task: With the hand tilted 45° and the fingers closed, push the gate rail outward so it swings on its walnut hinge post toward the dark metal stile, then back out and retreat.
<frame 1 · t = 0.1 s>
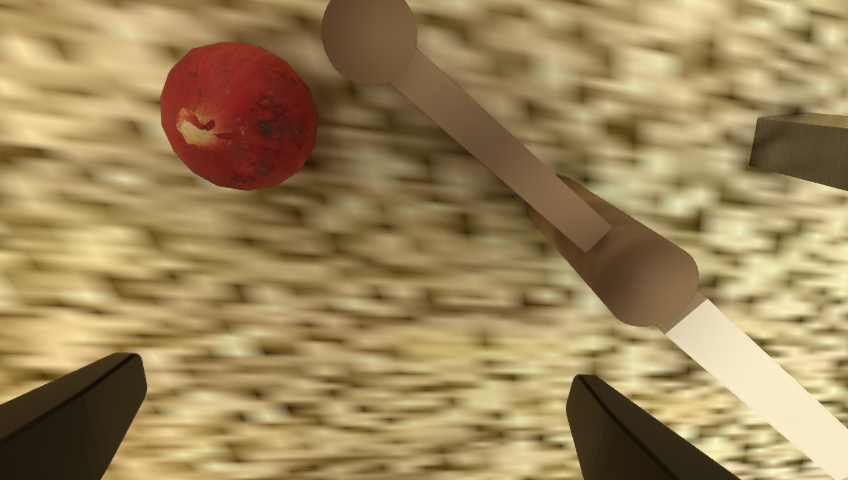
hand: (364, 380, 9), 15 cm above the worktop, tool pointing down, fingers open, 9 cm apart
onion: (273, 112, 21), on the worktop
stile: (777, 139, 22), on the worktop
gate: (695, 327, 20), point 5 cm above the worktop, hinge at 0.0°
fence: (552, 201, 23), on the worktop
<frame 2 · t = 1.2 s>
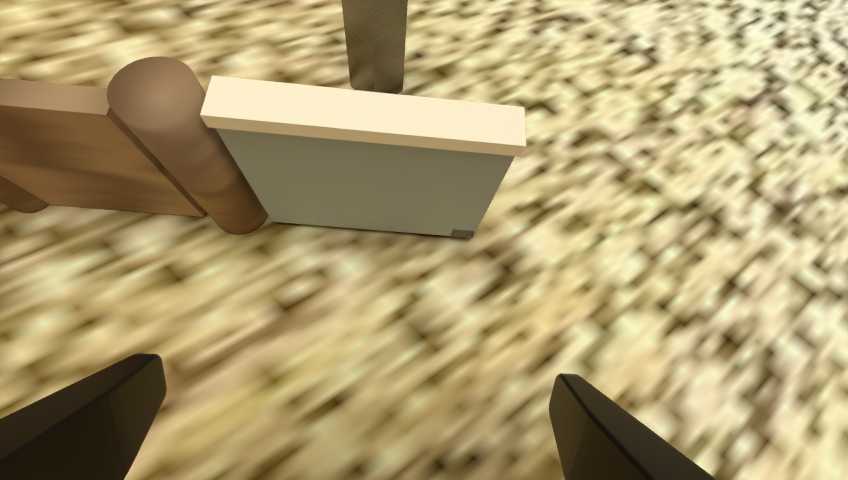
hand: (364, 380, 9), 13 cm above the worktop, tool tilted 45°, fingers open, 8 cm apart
stile: (376, 87, 28), on the worktop
gate: (373, 178, 20), point 5 cm above the worktop, hinge at 0.0°
fence: (241, 210, 24), on the worktop
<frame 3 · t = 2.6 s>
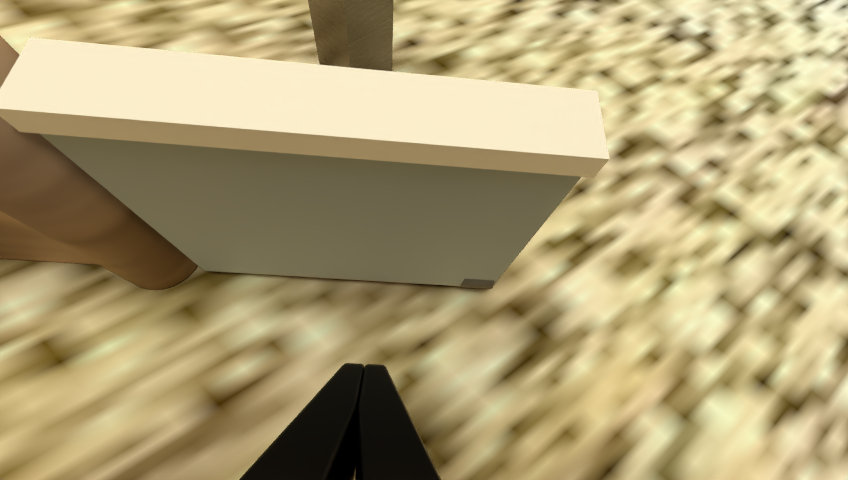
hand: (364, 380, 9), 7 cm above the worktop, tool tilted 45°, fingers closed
stile: (357, 83, 21), on the worktop
gate: (343, 211, 13), point 5 cm above the worktop, hinge at 0.0°
fence: (163, 254, 17), on the worktop
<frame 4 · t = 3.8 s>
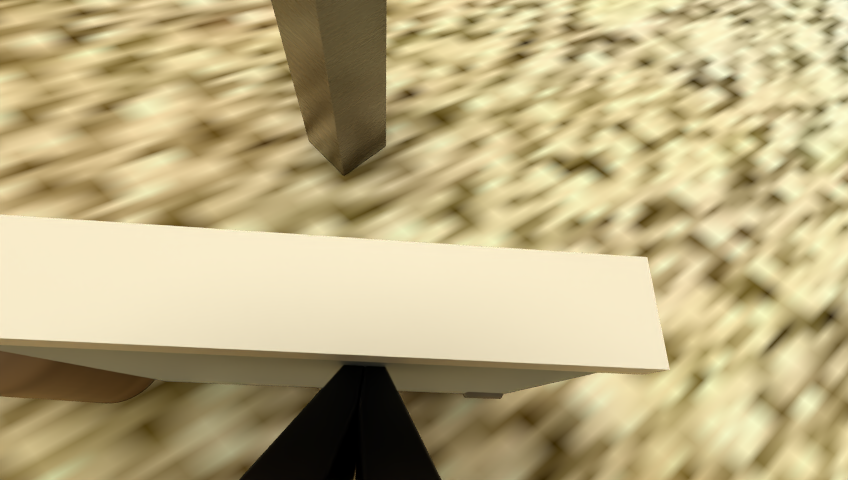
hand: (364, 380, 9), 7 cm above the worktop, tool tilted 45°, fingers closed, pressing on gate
stile: (347, 143, 19), on the worktop
gate: (322, 344, 11), point 5 cm above the worktop, hinge at 0.1°, touching gripper
fence: (121, 357, 15), on the worktop
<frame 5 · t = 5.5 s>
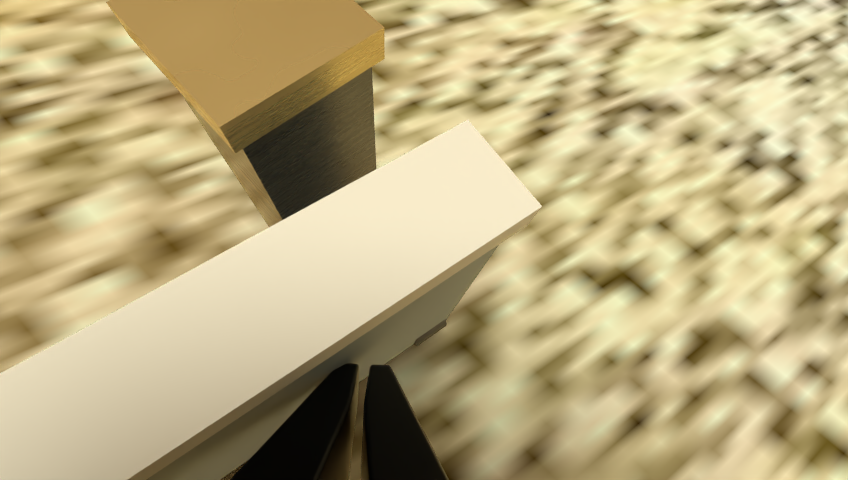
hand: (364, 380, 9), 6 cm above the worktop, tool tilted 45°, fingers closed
stile: (333, 256, 16), on the worktop
gate: (242, 403, 9), point 5 cm above the worktop, hinge at 37.6°, touching gripper
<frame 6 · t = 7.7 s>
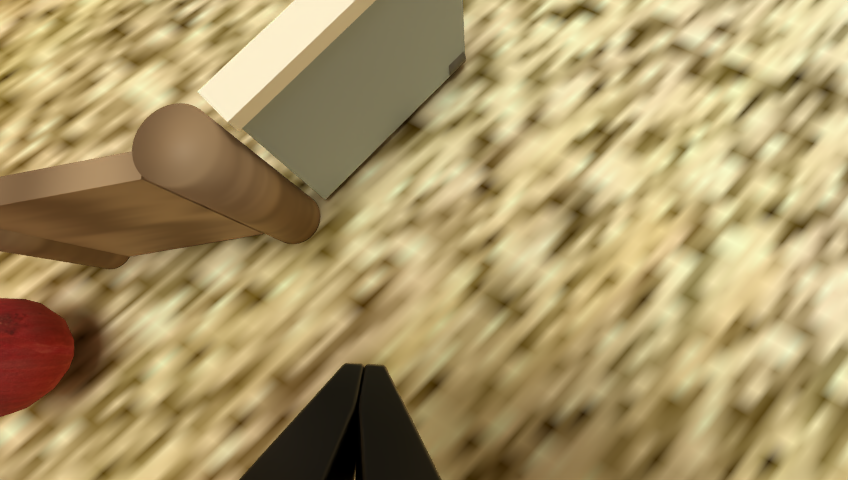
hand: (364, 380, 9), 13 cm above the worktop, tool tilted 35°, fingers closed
onion: (69, 352, 24), on the worktop
gate: (367, 74, 20), point 5 cm above the worktop, hinge at 37.6°
fence: (295, 218, 24), on the worktop
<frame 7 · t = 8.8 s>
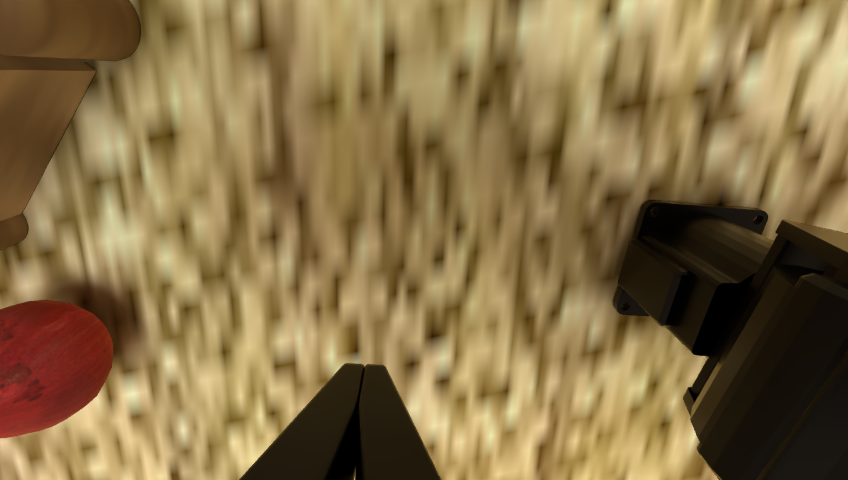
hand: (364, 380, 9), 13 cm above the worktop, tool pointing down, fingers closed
onion: (93, 319, 23), on the worktop
fence: (103, 21, 17), on the worktop
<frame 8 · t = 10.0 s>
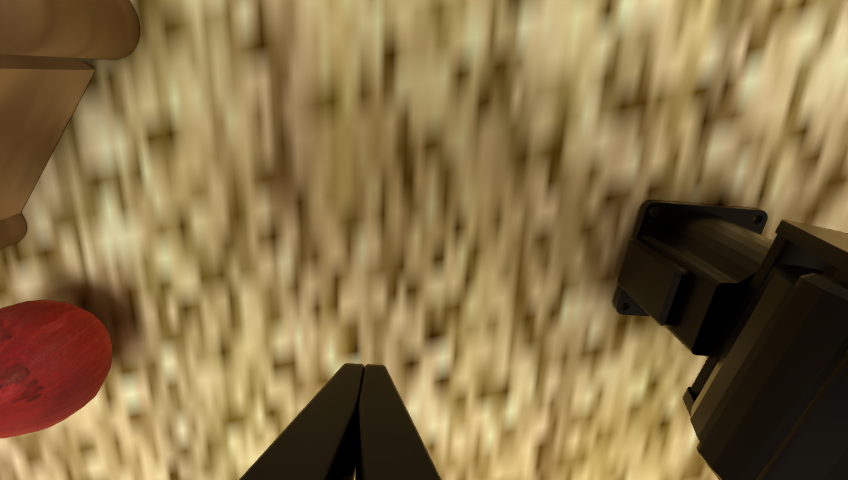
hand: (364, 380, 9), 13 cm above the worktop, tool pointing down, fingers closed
onion: (92, 319, 23), on the worktop
fence: (102, 20, 17), on the worktop
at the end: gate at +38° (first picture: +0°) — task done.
